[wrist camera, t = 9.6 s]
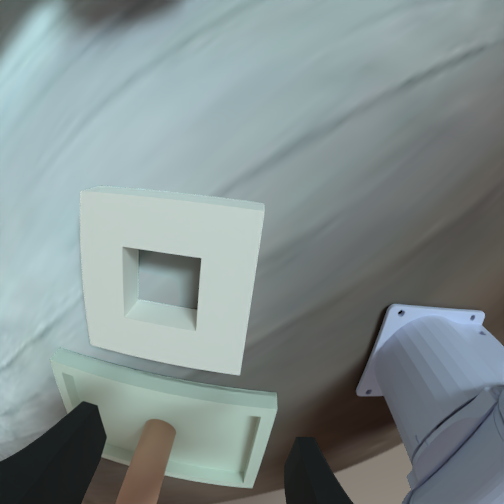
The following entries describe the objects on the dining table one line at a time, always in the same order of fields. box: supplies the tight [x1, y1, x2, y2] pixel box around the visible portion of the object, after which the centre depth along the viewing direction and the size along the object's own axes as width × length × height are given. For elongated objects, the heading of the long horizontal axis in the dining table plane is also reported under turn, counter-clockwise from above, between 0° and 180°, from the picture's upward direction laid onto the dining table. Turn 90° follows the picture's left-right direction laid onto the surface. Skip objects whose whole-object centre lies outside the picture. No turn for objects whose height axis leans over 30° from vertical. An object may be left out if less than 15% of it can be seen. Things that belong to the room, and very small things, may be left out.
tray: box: [50, 348, 277, 488], centre depth 22 cm, size 18×13×2 cm
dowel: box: [115, 419, 176, 504], centre depth 18 cm, size 3×3×9 cm
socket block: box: [80, 186, 265, 375], centre depth 17 cm, size 10×10×2 cm
